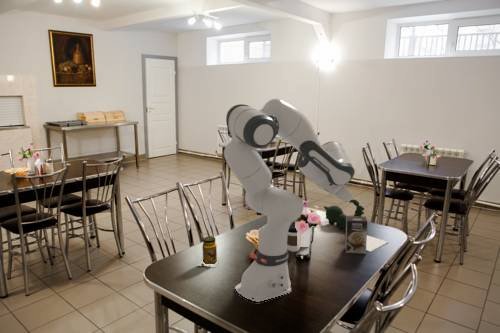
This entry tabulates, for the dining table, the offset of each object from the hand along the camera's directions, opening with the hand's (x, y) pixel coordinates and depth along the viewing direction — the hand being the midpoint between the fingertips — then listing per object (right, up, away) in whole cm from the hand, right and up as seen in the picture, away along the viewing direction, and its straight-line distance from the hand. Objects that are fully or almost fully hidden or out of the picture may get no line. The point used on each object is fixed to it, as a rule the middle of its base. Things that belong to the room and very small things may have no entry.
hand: (341, 192), depth 159 cm
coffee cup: (-19, -28, +17) cm, 38 cm away
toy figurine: (+11, -23, +44) cm, 51 cm away
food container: (-9, -26, +28) cm, 39 cm away
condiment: (-58, -32, +3) cm, 66 cm away
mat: (+19, -27, +23) cm, 40 cm away
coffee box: (+10, -28, +15) cm, 34 cm away
